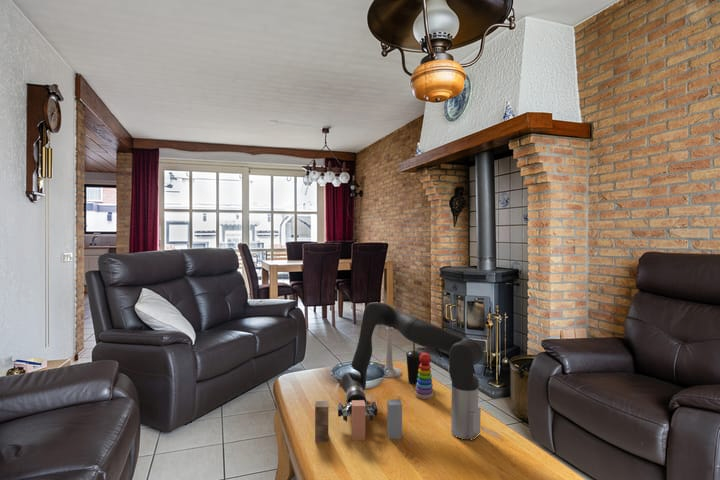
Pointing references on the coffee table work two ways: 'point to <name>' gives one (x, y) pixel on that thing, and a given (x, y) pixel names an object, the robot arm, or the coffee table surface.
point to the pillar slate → (394, 418)
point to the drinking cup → (413, 365)
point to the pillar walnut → (321, 421)
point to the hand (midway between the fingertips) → (358, 418)
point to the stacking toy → (424, 378)
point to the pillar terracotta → (358, 420)
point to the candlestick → (389, 363)
